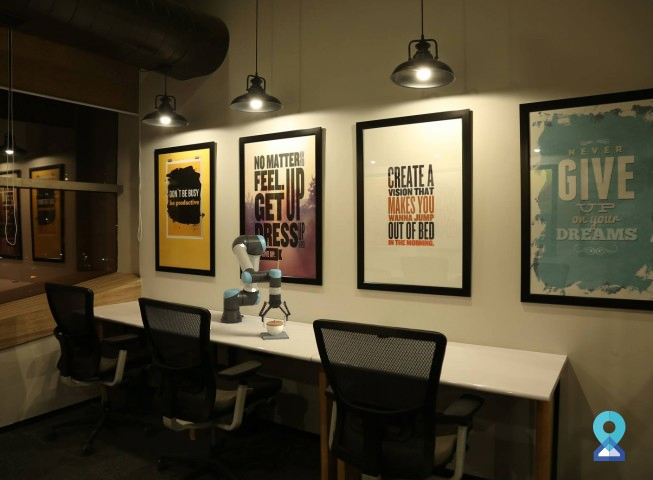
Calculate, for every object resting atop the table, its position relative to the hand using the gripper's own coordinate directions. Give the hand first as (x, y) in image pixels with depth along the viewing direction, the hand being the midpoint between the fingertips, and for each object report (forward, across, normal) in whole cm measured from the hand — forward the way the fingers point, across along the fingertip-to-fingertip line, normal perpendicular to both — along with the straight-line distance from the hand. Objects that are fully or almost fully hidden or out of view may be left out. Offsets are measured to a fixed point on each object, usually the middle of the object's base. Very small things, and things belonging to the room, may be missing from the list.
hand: (274, 326), depth 305 cm
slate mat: (+6, 0, 0) cm, 6 cm away
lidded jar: (+5, 0, 0) cm, 5 cm away
